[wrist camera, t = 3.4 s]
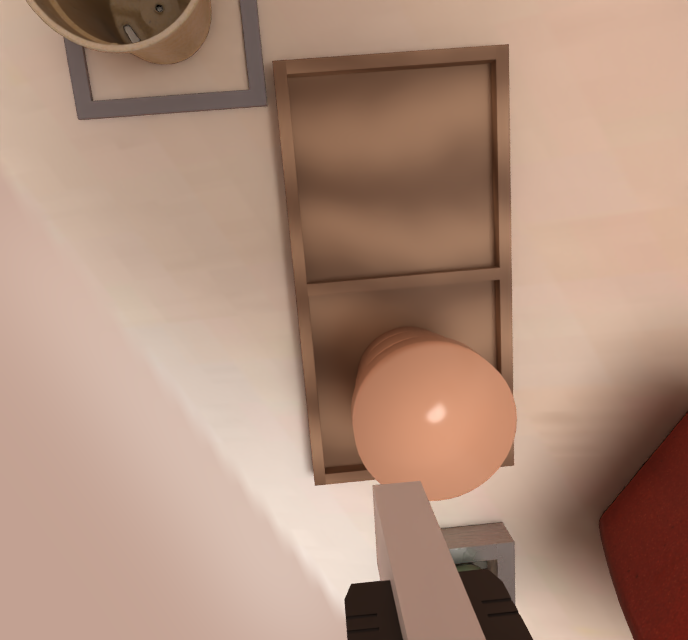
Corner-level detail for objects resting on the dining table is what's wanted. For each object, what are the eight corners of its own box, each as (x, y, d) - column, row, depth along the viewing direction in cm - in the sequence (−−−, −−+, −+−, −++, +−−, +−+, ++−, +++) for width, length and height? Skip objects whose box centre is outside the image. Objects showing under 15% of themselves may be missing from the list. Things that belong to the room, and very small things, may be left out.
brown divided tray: (274, 68, 33) (272, 60, 32) (498, 52, 34) (508, 44, 32) (314, 473, 39) (315, 485, 38) (505, 454, 40) (513, 465, 38)
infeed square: (42, -94, 31) (39, -97, 31) (245, -106, 31) (244, -109, 31) (79, 119, 33) (77, 119, 33) (267, 106, 34) (267, 105, 34)
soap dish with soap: (402, 532, 41) (407, 553, 38) (502, 522, 41) (514, 542, 39) (407, 620, 42) (413, 645, 40) (504, 609, 43) (515, 633, 40)
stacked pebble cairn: (339, 319, 36) (347, 354, 27) (467, 308, 37) (515, 339, 28) (349, 439, 38) (360, 508, 29) (471, 427, 38) (517, 492, 30)
